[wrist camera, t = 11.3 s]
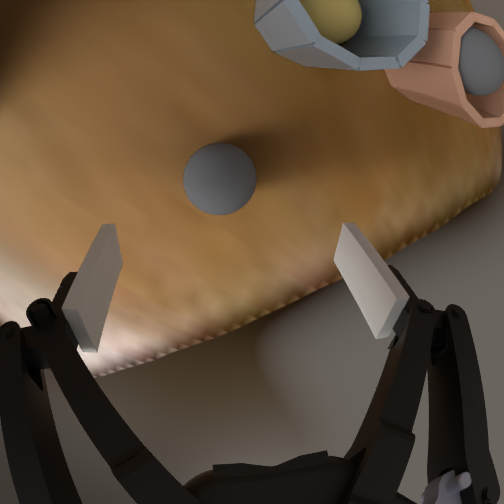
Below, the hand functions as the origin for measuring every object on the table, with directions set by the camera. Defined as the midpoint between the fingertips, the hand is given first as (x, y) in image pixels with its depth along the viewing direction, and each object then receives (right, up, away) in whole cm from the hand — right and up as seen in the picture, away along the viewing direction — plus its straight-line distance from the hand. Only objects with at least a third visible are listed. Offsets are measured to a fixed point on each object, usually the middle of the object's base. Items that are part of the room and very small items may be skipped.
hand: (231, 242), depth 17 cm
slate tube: (+6, +20, +2) cm, 21 cm away
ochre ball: (+6, +20, +2) cm, 21 cm away
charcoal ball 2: (+20, +15, 0) cm, 25 cm away
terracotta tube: (+18, +19, +5) cm, 27 cm away
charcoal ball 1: (-2, +7, +10) cm, 12 cm away
